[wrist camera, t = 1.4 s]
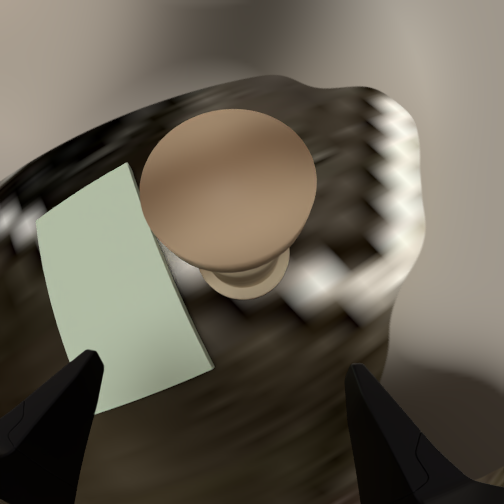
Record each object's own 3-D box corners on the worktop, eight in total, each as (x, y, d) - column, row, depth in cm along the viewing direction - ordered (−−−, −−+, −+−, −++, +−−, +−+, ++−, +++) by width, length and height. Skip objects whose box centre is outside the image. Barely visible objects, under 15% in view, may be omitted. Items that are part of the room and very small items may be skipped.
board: (215, 367, 21) (212, 369, 20) (99, 411, 20) (92, 414, 19) (131, 168, 26) (127, 162, 25) (42, 224, 25) (35, 221, 24)
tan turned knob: (304, 274, 23) (351, 211, 11) (222, 315, 22) (176, 298, 10) (262, 200, 25) (263, 90, 12) (186, 237, 24) (122, 152, 12)
